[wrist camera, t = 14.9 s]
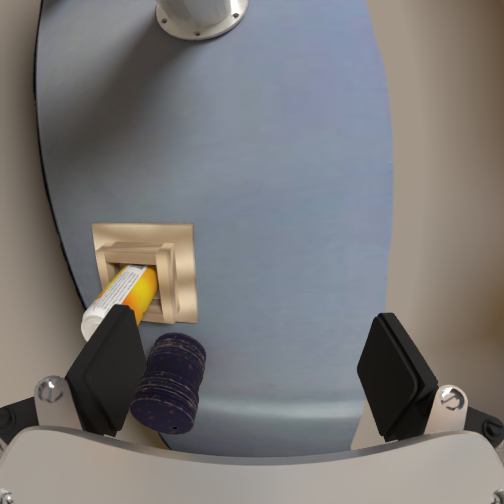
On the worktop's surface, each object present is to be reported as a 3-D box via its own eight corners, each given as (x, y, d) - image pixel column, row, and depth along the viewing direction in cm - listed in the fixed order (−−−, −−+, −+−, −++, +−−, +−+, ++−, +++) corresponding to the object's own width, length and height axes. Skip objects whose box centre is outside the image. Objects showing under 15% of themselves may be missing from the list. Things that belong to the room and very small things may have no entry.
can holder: (94, 222, 37) (77, 233, 33) (193, 223, 38) (185, 235, 33) (111, 311, 44) (99, 327, 39) (198, 319, 44) (193, 339, 39)
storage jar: (143, 344, 46) (116, 405, 32) (181, 323, 44) (158, 391, 30) (179, 377, 49) (163, 438, 36) (218, 360, 47) (208, 428, 33)
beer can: (128, 289, 41) (85, 351, 27) (124, 254, 38) (72, 309, 24) (163, 294, 41) (130, 361, 27) (161, 257, 38) (120, 318, 25)
